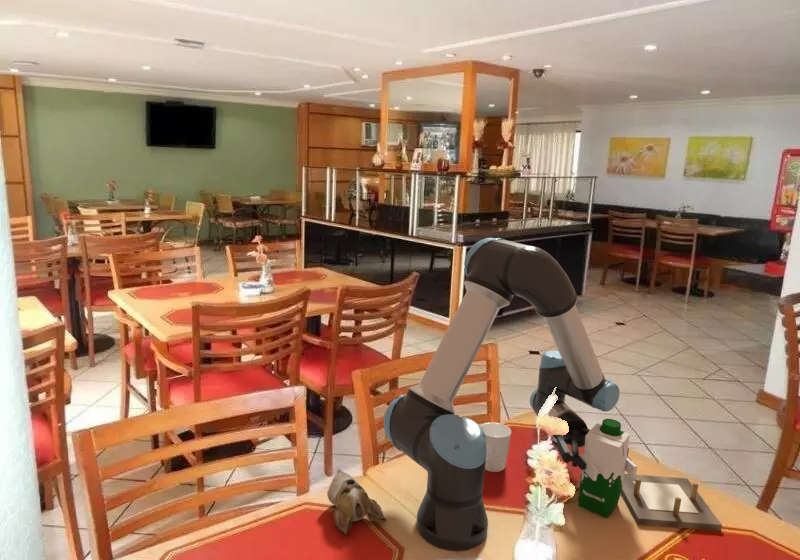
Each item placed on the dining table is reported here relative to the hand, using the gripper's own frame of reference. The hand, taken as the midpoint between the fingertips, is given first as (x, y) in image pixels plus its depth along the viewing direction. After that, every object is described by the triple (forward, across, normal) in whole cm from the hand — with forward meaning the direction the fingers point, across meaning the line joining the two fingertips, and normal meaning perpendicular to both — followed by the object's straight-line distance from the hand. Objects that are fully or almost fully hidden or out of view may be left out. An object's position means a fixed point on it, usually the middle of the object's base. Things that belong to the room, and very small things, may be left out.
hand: (615, 473), depth 126 cm
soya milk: (-5, 0, -11) cm, 12 cm away
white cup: (-24, +19, -11) cm, 32 cm away
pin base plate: (-3, -16, -11) cm, 20 cm away
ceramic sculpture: (-9, +57, -11) cm, 59 cm away
